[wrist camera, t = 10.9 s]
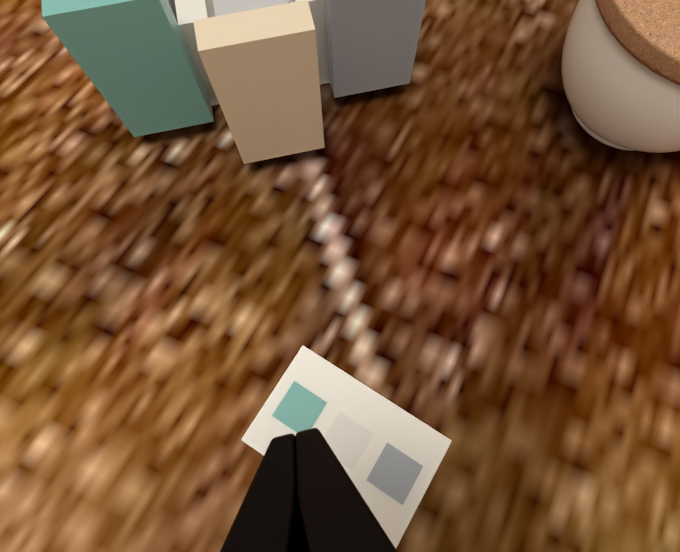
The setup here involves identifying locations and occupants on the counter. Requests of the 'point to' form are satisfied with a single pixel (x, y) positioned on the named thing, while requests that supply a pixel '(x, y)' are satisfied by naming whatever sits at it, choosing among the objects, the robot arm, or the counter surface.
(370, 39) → the drawer slate
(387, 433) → the card
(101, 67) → the button teal
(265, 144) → the button tan
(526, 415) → the counter surface
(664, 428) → the counter surface
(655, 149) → the lidded jar
